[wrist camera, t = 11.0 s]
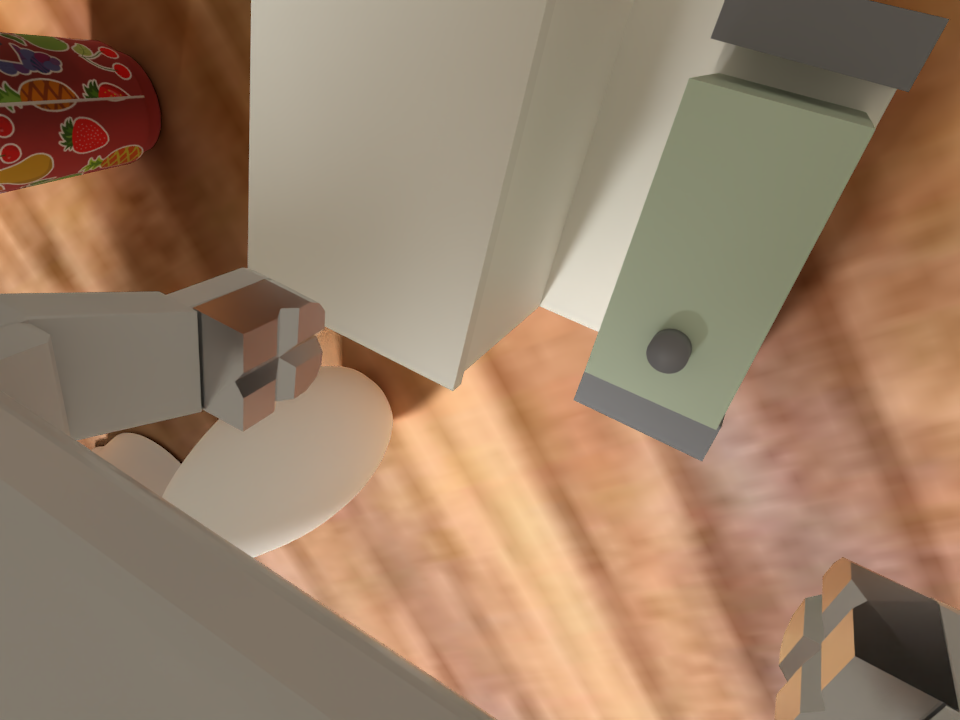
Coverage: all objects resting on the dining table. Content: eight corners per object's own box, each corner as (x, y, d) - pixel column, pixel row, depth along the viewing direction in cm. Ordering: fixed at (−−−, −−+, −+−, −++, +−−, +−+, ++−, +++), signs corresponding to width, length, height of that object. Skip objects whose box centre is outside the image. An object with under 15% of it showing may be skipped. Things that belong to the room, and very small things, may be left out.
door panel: (719, 72, 19) (684, 78, 15) (866, 112, 18) (876, 131, 13) (625, 318, 24) (578, 379, 20) (736, 364, 23) (713, 440, 18)
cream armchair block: (726, 381, 27) (685, 508, 20) (383, 232, 33) (247, 287, 25) (920, 22, 20) (975, 2, 12) (430, -96, 25) (253, -160, 17)
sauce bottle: (386, 471, 40) (142, 700, 26) (304, 388, 41) (20, 568, 27) (446, 407, 36) (187, 644, 21) (352, 313, 36) (38, 484, 22)
